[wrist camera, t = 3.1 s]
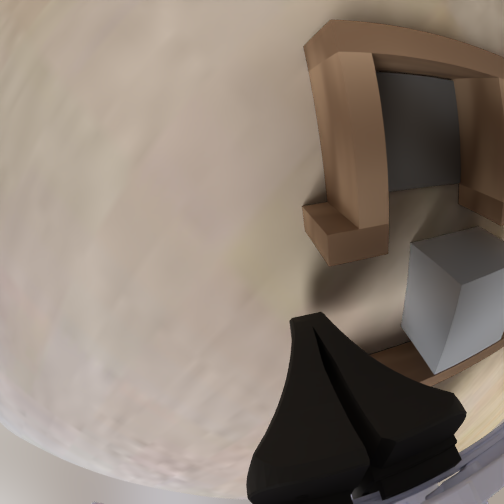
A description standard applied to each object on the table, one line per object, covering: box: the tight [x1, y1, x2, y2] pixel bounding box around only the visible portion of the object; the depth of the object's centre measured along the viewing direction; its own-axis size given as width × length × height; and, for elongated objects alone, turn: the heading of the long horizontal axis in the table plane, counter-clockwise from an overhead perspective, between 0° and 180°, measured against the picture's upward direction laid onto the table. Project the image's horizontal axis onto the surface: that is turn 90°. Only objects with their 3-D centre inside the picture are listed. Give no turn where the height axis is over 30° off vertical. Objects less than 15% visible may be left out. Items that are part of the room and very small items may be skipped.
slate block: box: [401, 226, 504, 375], centre depth 11 cm, size 5×5×4 cm
